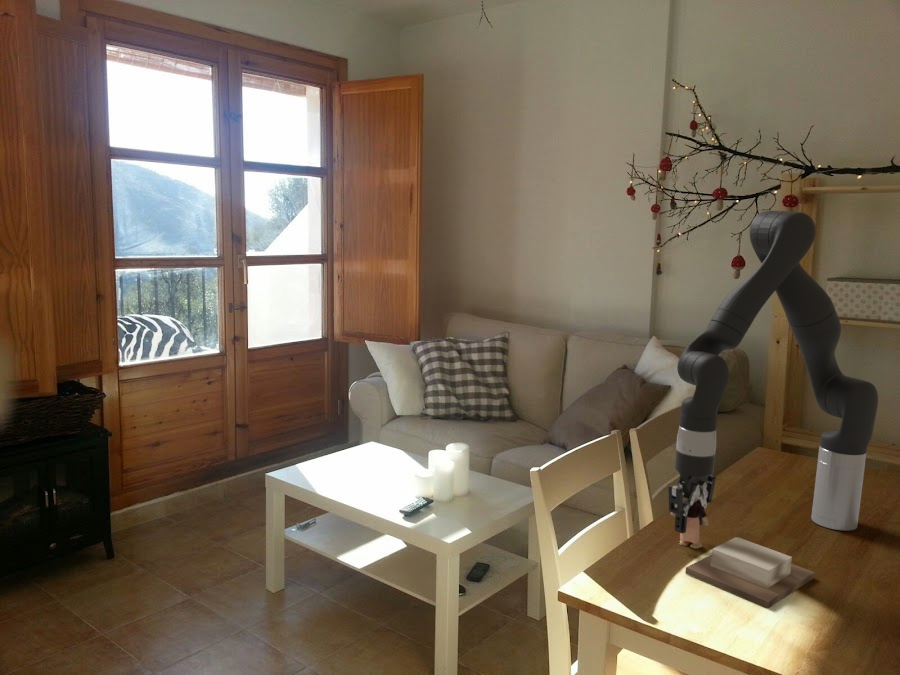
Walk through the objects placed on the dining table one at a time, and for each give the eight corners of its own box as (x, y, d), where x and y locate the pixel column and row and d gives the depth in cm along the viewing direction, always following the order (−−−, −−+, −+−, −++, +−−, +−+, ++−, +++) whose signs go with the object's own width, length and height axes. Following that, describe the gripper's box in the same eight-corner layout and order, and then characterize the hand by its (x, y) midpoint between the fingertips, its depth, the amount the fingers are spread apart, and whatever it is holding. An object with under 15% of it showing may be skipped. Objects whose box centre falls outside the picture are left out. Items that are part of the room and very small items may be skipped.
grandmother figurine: (708, 544, 153) (713, 485, 151) (705, 551, 149) (711, 491, 147) (669, 536, 156) (674, 479, 154) (666, 543, 152) (671, 484, 150)
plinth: (734, 548, 151) (736, 526, 150) (813, 578, 139) (816, 555, 138) (685, 573, 139) (687, 550, 139) (767, 608, 127) (770, 583, 127)
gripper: (692, 460, 142) (685, 543, 144) (731, 447, 151) (723, 525, 154) (659, 450, 147) (652, 530, 150) (698, 438, 157) (691, 514, 159)
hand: (688, 527), depth 152 cm, fingers open, 5 cm apart
